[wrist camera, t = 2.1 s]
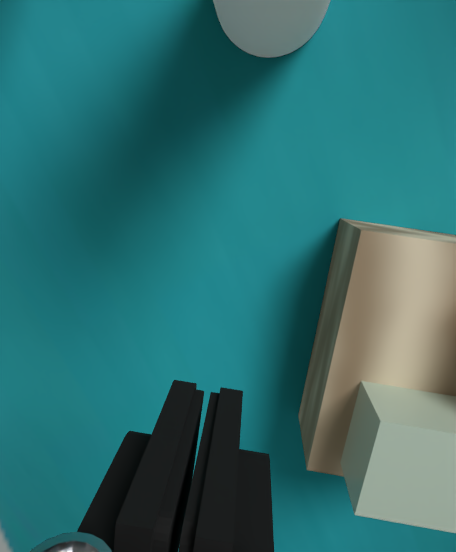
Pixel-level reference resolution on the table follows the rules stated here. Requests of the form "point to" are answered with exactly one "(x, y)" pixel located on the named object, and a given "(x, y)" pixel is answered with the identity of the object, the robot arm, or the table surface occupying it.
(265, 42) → the cylindrical container
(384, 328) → the striped wooden block
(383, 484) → the pale green block
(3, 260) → the table surface
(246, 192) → the table surface
